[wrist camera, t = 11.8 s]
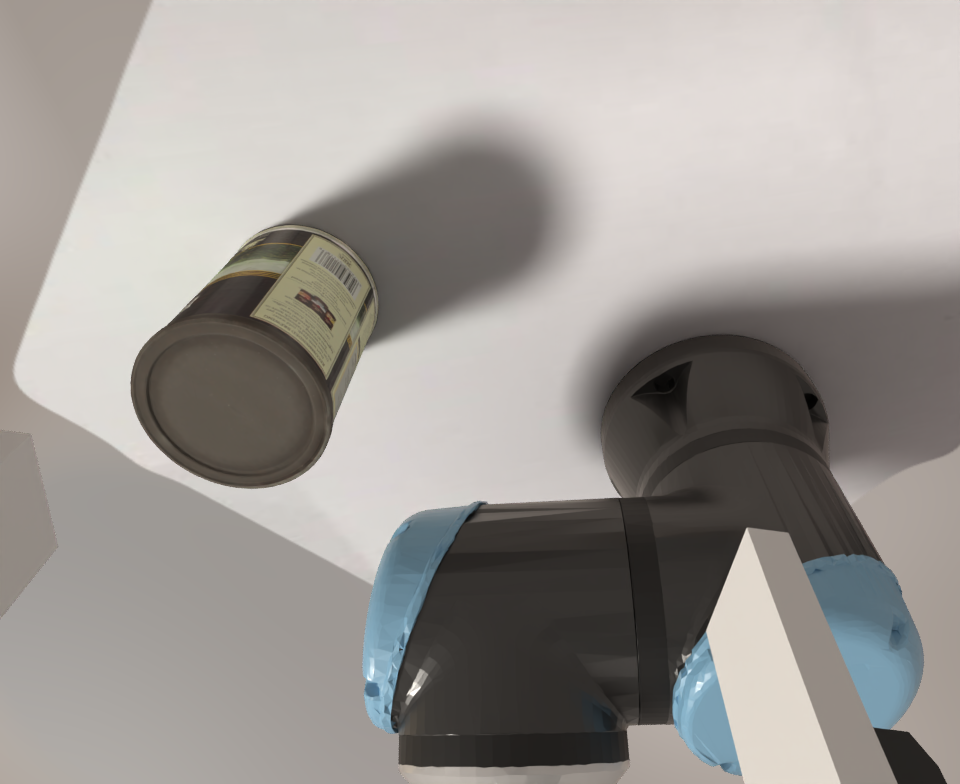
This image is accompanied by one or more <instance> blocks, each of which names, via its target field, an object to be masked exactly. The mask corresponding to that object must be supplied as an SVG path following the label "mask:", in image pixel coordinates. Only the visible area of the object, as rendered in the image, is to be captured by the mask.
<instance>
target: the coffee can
mask: <svg viewBox="0 0 960 784" xmlns="http://www.w3.org/2000/svg"><path fill="white" fill-rule="evenodd" d="M377 315H378V295H377V290H376V286H375V283H374V281H373V278H372V276H371V274H370V272H369V270H368V268H367V267H366V265H365V264H364V263H363V261H362V260H361V259H360V258H359V256H358V255H357V254H356V253H355V252H354V251H353V250H352V249H351V248H350V247H349V246H347V245H346V244H345V243H343V242H342V241H341V240H339V239H337V238H336V237H334V236H332V235H330V234H328V233H326V232H323V231H321V230H319V229H315V228H310V227H306V226H297V225H285V226H278V227H273V228H270V229H267V230H264V231H261V232H259V233H258V234H256V235H254V236H253V237H251V238H250V239H249V240H248V241H246V242H245V243H244V244H243V245H242V247H241V248H240V249H239V250H238V252H237V253H236V254H235V255H234V257H232V258H231V259H230V261H229V262H228V263H227V264H226V265H225V266H224V267H223V269H222V270H221V271H220V272H219V273H218V274H217V275H216V276H215V277H214V278H213V279H212V280H211V281H210V282H209V283H208V284H207V285H206V286H205V287H204V288H203V289H202V290H201V291H200V292H199V294H198V295H197V296H195V297H194V298H193V299H192V300H191V301H190V302H189V303H188V304H187V305H186V306H185V307H184V308H183V309H182V311H181V312H180V313H179V314H178V315H177V316H176V317H175V318H174V319H173V320H172V321H171V322H170V323H169V324H168V325H167V326H166V327H164V328H162V329H161V330H160V331H158V332H157V333H156V334H155V335H154V336H152V337H151V338H150V339H149V340H148V341H147V343H146V344H145V345H144V346H143V347H142V349H141V350H140V352H139V354H138V356H137V357H136V360H135V363H134V366H133V370H132V375H131V397H132V402H133V406H134V409H135V412H136V415H137V417H138V419H139V421H140V423H141V425H142V427H143V428H144V430H145V432H146V433H147V435H148V436H149V438H150V439H151V440H152V441H153V443H154V444H155V445H156V446H157V447H158V448H159V449H160V450H161V451H162V452H163V453H164V454H165V455H166V456H167V457H169V458H170V459H171V460H172V461H173V462H175V463H176V464H177V465H179V466H181V467H182V468H184V469H185V470H187V471H189V472H191V473H192V474H194V475H196V476H198V477H201V478H204V479H206V480H208V481H211V482H214V483H217V484H221V485H225V486H230V487H236V488H247V489H257V488H267V487H273V486H277V485H281V484H284V483H287V482H289V481H292V480H294V479H296V478H297V477H299V476H301V475H302V474H304V473H305V472H306V471H308V470H309V469H310V468H311V467H312V466H313V465H314V464H315V463H316V462H317V461H318V459H319V458H320V457H321V455H322V454H323V452H324V450H325V448H326V446H327V443H328V441H329V438H330V435H331V432H332V427H333V422H334V419H335V417H336V415H337V412H338V410H339V407H340V405H341V403H342V400H343V398H344V395H345V393H346V390H347V388H348V386H349V383H350V381H351V378H352V376H353V374H354V372H355V369H356V366H357V364H358V362H359V359H360V357H361V355H362V352H363V350H364V348H365V345H366V343H367V340H368V339H369V337H370V335H371V334H372V331H373V329H374V327H375V324H376V322H377Z"/></svg>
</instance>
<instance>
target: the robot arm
mask: <svg viewBox="0 0 960 784" xmlns="http://www.w3.org/2000/svg"><path fill="white" fill-rule="evenodd" d="M601 442H602V450H603V457H604V462H605V467H606V470H607V473H608V475H609V478H610V480H611V482H612V484H613V486H614V488H615V489H616V491H617V492H618V494H619V495H620V496H621V497H622V498H604V499H585V500H565V501H546V502H526V503H507V504H488V503H487V502H485V501H477V502H473V503H472V504H470V505H469V506H461V507H452V508H442V509H433V510H425V511H421V512H419V513H416V514H414V515H412V516H411V517H409V518H408V519H406V520H405V521H404V522H403V523H402V524H401V525H400V526H399V528H398V529H397V530H396V531H395V533H394V535H393V536H392V538H391V540H390V543H389V544H388V545H387V547H386V549H385V551H384V554H383V556H382V559H381V562H380V565H379V567H378V571H377V574H376V577H375V581H374V585H373V589H372V593H371V598H370V603H369V609H368V614H367V621H366V628H365V637H364V647H363V676H364V677H365V678H366V684H365V691H364V698H365V705H366V709H367V712H368V715H369V717H370V719H371V720H372V722H373V724H374V725H375V726H377V727H378V728H381V729H384V730H385V731H386V732H387V733H390V734H394V733H399V763H398V764H399V772H400V774H401V775H402V776H403V777H404V778H405V779H406V780H407V781H408V783H409V784H617V782H618V781H619V780H620V779H621V777H622V776H623V774H624V773H625V772H626V771H627V769H628V768H629V767H630V759H629V752H628V739H627V728H628V726H629V725H656V724H666V725H670V724H674V725H675V728H676V729H677V730H678V732H679V735H680V737H681V738H682V739H683V740H684V742H685V743H686V745H687V746H688V748H689V749H690V750H691V751H692V752H693V754H694V755H696V756H697V757H698V758H699V759H700V760H701V761H703V762H705V763H706V764H708V765H710V766H716V765H720V766H721V768H722V769H723V770H724V771H725V772H728V773H730V774H734V775H739V776H743V780H744V784H947V783H946V781H945V779H944V777H943V775H942V773H941V771H940V769H939V767H938V766H937V764H936V763H935V762H934V761H933V760H932V759H931V757H930V756H929V755H928V754H927V753H926V752H925V750H924V749H923V748H922V747H921V746H920V745H919V744H918V742H917V741H916V740H915V739H914V738H913V737H912V735H911V734H910V733H909V732H904V731H897V730H890V729H891V728H892V727H893V726H894V725H895V724H896V723H897V722H898V721H899V720H900V718H901V717H902V716H903V715H904V714H905V712H906V711H907V709H908V708H909V706H910V705H911V703H912V701H913V699H914V697H915V696H916V693H917V691H918V689H919V686H920V683H921V679H922V674H923V666H924V655H923V648H922V643H921V639H920V636H919V633H918V631H917V629H916V626H915V624H914V622H913V620H912V618H911V615H910V613H909V611H908V609H907V606H906V604H905V602H904V600H903V598H902V591H901V588H900V585H899V584H898V580H897V579H896V577H895V575H894V574H893V572H892V571H891V570H890V569H889V568H888V567H886V566H885V564H884V562H883V561H882V559H881V557H880V555H879V554H878V552H877V550H876V549H875V547H874V545H873V543H872V542H871V540H870V538H869V536H868V535H867V533H866V531H865V530H864V528H863V526H862V525H861V523H860V521H859V519H858V518H857V516H856V514H855V512H854V511H853V509H852V507H851V506H850V504H849V502H848V500H847V499H846V497H845V495H844V493H843V492H842V490H841V488H840V487H839V485H838V483H837V481H836V480H835V478H834V477H833V475H832V473H831V471H830V470H829V422H828V417H827V413H826V409H825V406H824V403H823V401H822V398H821V396H820V394H819V393H818V391H817V389H816V388H815V386H814V385H813V383H812V381H811V380H810V378H809V377H808V375H807V374H806V372H805V371H804V370H803V368H802V367H801V366H800V365H799V364H798V363H797V362H796V361H795V360H794V359H792V358H791V357H790V356H789V355H787V354H786V353H785V352H783V351H781V350H780V349H778V348H776V347H774V346H772V345H770V344H767V343H765V342H762V341H759V340H756V339H751V338H747V337H741V336H732V335H712V336H703V337H697V338H692V339H688V340H685V341H681V342H678V343H675V344H673V345H670V346H668V347H666V348H663V349H661V350H659V351H657V352H656V353H654V354H652V355H651V356H649V357H647V358H646V359H644V360H643V361H642V362H640V363H639V364H638V365H637V366H635V367H634V368H633V369H632V370H631V371H630V372H629V373H628V374H627V375H626V376H625V377H624V378H623V379H622V381H621V382H620V383H619V384H618V386H617V387H616V389H615V390H614V392H613V394H612V395H611V397H610V399H609V401H608V403H607V406H606V409H605V412H604V415H603V420H602V426H601ZM57 548H58V543H57V539H56V535H55V531H54V526H53V522H52V518H51V514H50V510H49V506H48V502H47V497H46V493H45V489H44V485H43V481H42V476H41V472H40V468H39V464H38V460H37V456H36V452H35V447H34V443H33V439H32V435H31V434H29V433H21V432H13V431H5V430H0V619H1V617H3V615H4V614H5V613H6V612H7V610H8V609H9V608H10V606H11V605H12V604H13V603H14V602H15V600H16V599H17V598H18V596H19V595H20V594H21V593H22V591H23V590H24V589H25V588H26V587H27V585H28V584H29V583H30V582H31V580H32V579H33V578H34V577H35V575H36V574H37V572H39V570H40V569H41V568H42V567H43V565H44V564H45V563H46V562H47V560H48V559H49V558H50V556H51V555H52V554H53V553H54V551H55V550H56V549H57Z"/></svg>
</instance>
